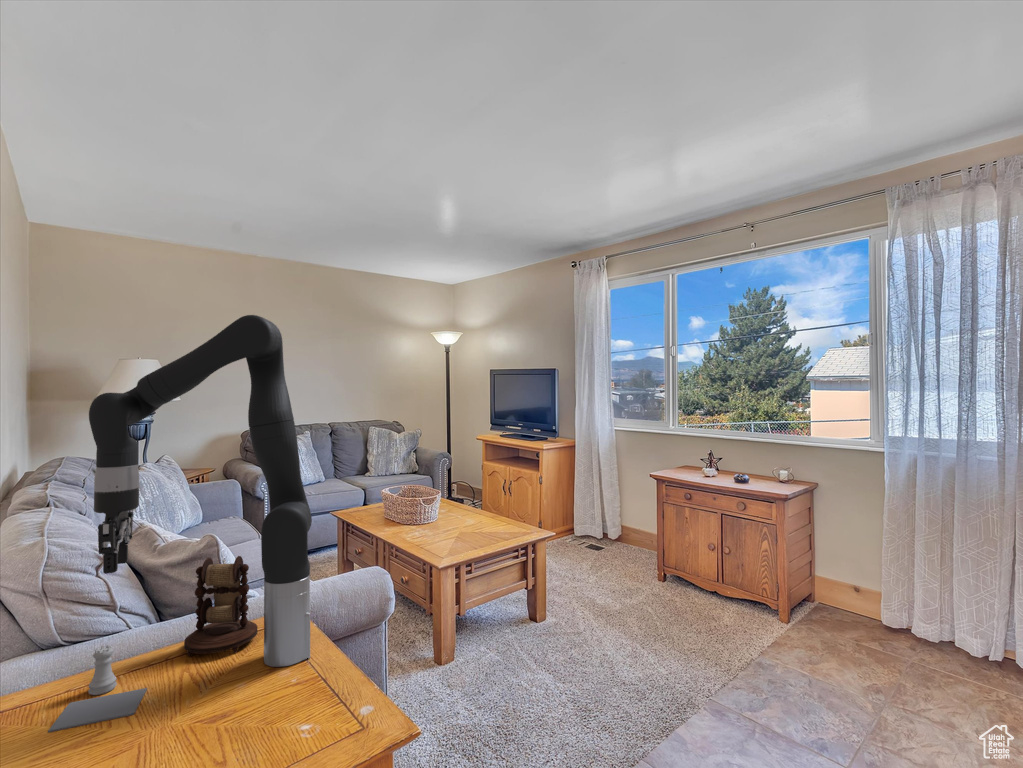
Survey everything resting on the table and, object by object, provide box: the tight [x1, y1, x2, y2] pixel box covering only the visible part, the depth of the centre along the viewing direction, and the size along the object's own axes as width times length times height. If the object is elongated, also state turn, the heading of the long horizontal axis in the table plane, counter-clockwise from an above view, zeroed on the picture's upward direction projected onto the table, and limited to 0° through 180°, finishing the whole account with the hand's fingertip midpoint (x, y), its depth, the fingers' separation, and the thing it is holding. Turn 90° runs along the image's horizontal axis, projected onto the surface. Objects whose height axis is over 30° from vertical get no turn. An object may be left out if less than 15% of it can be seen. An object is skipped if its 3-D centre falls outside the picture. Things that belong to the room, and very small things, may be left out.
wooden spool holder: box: [183, 555, 258, 657], centre depth 119 cm, size 15×15×20 cm
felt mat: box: [47, 687, 148, 733], centre depth 93 cm, size 12×9×1 cm
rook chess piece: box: [87, 644, 118, 696], centre depth 100 cm, size 4×4×8 cm
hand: (115, 567), depth 107 cm, fingers open, 6 cm apart
